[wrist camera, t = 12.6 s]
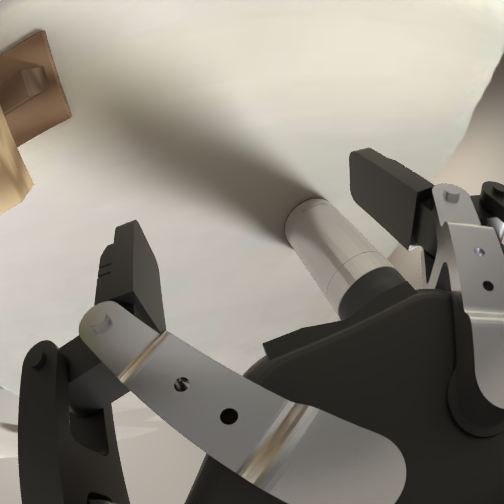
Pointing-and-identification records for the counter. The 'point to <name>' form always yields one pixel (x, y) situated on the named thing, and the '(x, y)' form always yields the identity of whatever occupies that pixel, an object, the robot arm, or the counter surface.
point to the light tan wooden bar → (11, 170)
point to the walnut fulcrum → (31, 89)
